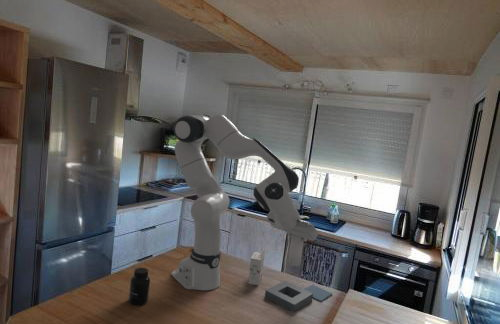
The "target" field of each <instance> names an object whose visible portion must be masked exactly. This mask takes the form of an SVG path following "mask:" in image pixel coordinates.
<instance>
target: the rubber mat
mask: <svg viewBox="0 0 500 324" xmlns="http://www.w3.org/2000/svg"><path fill="white" fill-rule="evenodd" d="M303 289H304V290H306V291H309V292H311V293H313V298H312V299H314V300H316V301H318V302H320V303H322V302H323V301H325V300H326V299H328V298H329V297H331V296H332V295H333V293H332V292H331V291H328V290H325V289H324V288H321V287H319V286H317V285H314V284H311V285H309V286H307V287H305V288H303Z"/></svg>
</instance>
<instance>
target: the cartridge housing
mask: <svg viewBox="0 0 500 324" xmlns="http://www.w3.org/2000/svg"><path fill="white" fill-rule="evenodd" d="M304 289H305V288H302V287H299V286H297V285H295V284H293V283H290V281H287V280H284V281H281V282H279V283H278V284H275V285H273V286H271V287H269V288H268V289H265V294H264V298H265V299H268V300H269V301H271V302H273V303H275V304H277V305H279V306H281V307H283V308H285V309H287V310H289V311H290V312H292V313H294V312H296V311H298V310H299V309H301V308H303V307H304V306H306V305H307V304H309V303H311V302H312V301H313V299H314V298H313V293H311V292H309V291H306V290H304ZM288 295H289V296H288ZM290 296H292V297H290Z"/></svg>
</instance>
